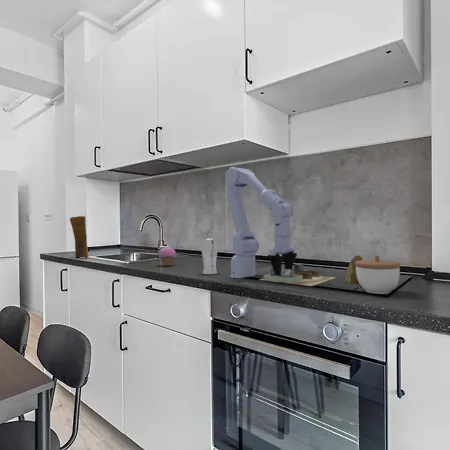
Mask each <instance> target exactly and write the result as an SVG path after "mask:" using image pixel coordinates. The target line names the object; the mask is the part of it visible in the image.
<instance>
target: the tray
mask: <svg viewBox="0 0 450 450" xmlns="http://www.w3.org/2000/svg"><path fill="white" fill-rule="evenodd" d="M263 278H264V280H270V281H269V282H273V281H279V282H278V283H281V282H288V283H287V284H290V283H294V282H297V281H301V280H303V275H293V274H292V278H288V277H278V276H271V274H270V273H269V274H264V275H263ZM264 280H263V281H264Z"/></svg>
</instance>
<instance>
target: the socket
mask: <svg viewBox="0 0 450 450" xmlns="http://www.w3.org/2000/svg"><path fill="white" fill-rule="evenodd" d="M309 270H310V269H309ZM298 275H303V279H312V277H319V276H320V270H310V273H307V272H298Z"/></svg>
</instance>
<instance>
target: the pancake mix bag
mask: <svg viewBox="0 0 450 450" xmlns="http://www.w3.org/2000/svg"><path fill="white" fill-rule="evenodd" d="M69 222H70V226H71V229H72V233H73V237H74V250H75V251H74V252H75V253H74V254H75V255H74V257H75V256H76V257H88V258H89V251H88V240H87V238H88V237H87V227H86V225H87V224H86V216H83V215H82V216H81V215H80V216H70V218H69Z"/></svg>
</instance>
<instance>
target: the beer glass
mask: <svg viewBox="0 0 450 450" xmlns="http://www.w3.org/2000/svg"><path fill="white" fill-rule="evenodd" d="M200 248H201V257H202V261H203V262H202V263H203V271H202V274H203V275H216V274H218V272H217V271H218V270H217V266H216V265H217V256H218V239H217V238H202V239H201V247H200Z"/></svg>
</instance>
